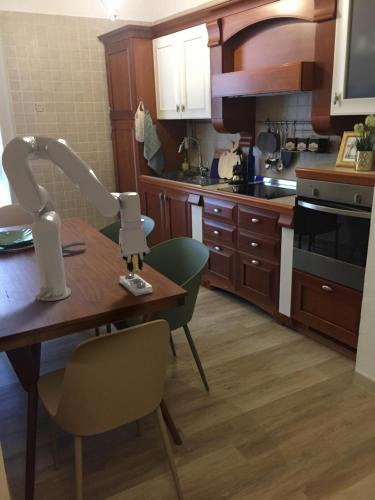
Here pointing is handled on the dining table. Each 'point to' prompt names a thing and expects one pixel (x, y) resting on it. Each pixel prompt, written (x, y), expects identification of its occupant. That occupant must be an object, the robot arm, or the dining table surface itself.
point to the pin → (135, 263)
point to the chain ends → (135, 284)
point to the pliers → (72, 250)
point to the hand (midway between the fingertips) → (135, 269)
